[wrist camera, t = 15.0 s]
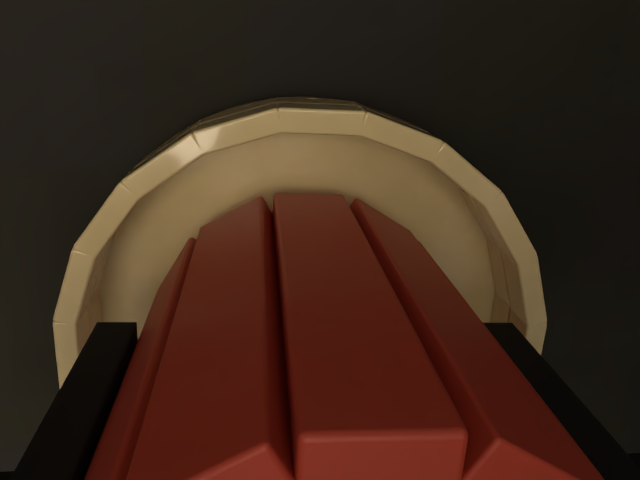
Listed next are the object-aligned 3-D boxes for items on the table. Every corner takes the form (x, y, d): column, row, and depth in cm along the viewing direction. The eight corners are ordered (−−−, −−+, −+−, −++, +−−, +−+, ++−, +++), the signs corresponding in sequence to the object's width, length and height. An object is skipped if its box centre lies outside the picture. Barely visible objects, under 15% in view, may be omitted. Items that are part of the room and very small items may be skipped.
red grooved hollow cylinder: (459, 196, 14) (744, 426, 6) (426, 447, 16) (596, 864, 8) (149, 188, 13) (-30, 442, 5) (160, 453, 15) (53, 922, 7)
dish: (535, 106, 14) (589, 120, 12) (474, 472, 18) (505, 538, 16) (68, 85, 13) (27, 96, 11) (101, 482, 17) (76, 554, 15)
